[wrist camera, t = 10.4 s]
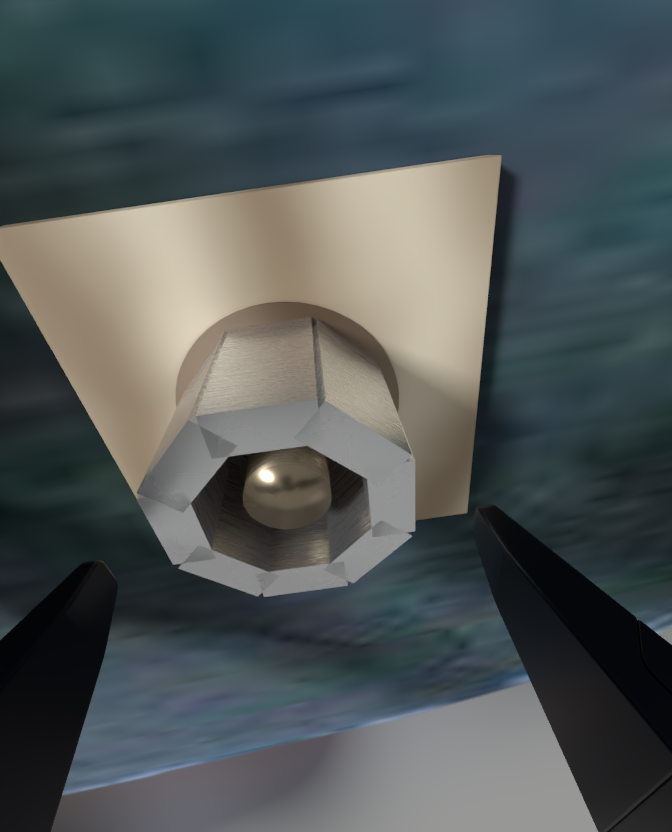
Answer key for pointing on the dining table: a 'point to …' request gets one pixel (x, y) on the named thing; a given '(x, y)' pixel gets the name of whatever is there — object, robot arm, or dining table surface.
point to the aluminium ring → (273, 430)
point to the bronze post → (287, 487)
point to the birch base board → (276, 299)
